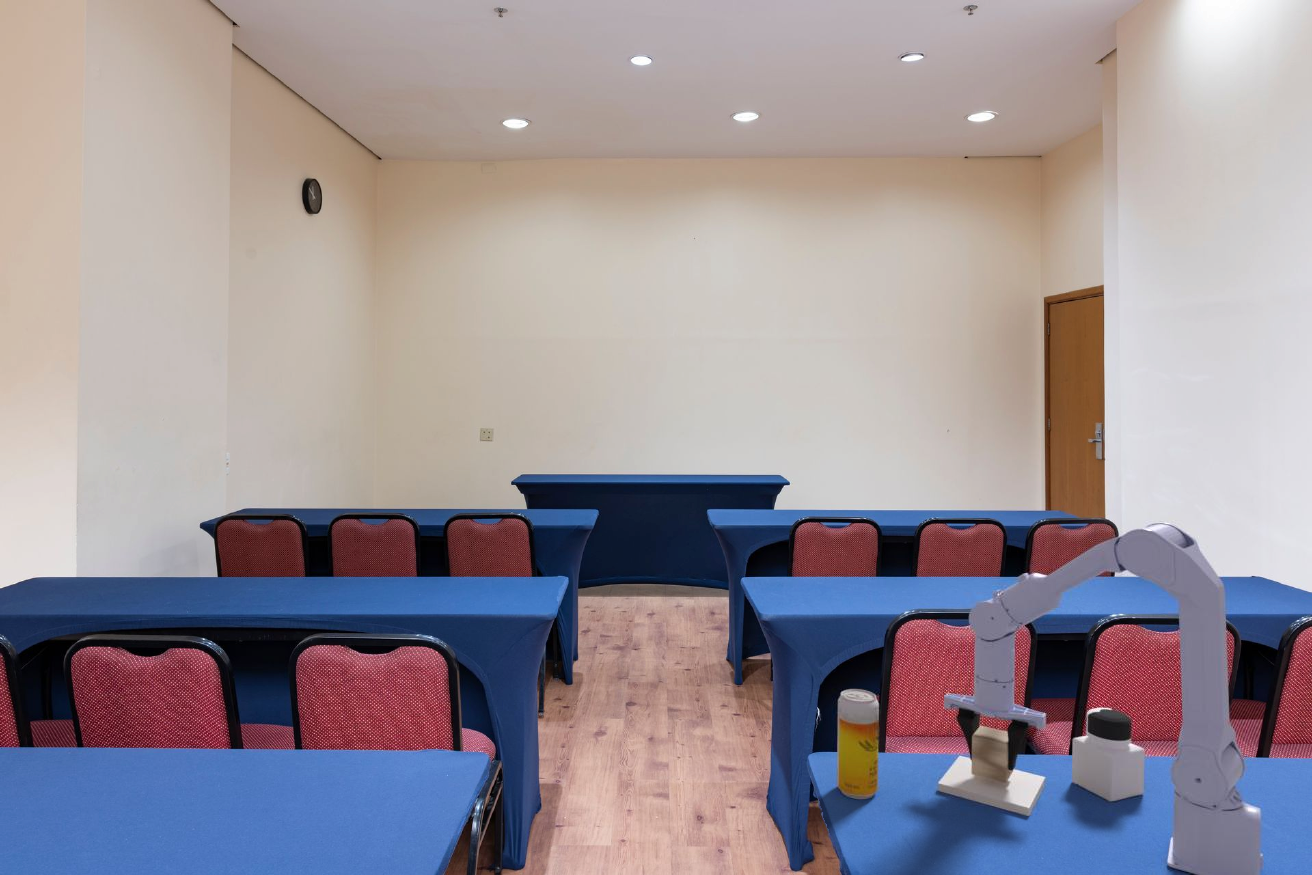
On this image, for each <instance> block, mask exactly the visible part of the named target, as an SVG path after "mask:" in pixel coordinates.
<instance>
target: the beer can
mask: <svg viewBox="0 0 1312 875" xmlns="http://www.w3.org/2000/svg"><path fill="white" fill-rule="evenodd" d="M879 708H880V703H879V701H878V699H877V695H876V694H875V693H873V692H871V691H869V690H865V689H861V688H860V689H859V688H849V689H845V690H843V691H841V692H840V695H839V697H838V699H837V742H836V743H837V744H836V745H837V746H836V747H837V750H836V751H837V754H836V759H837V760H836V761H837V762H836V765H837V767H836V770H837V771H836V786H837V787H838V789H839V790H840V792H841V793H842V795H844V796H846V797H848V798H852V799H856V800H867V799H870V798H872V797H873V796H874V795H875V793H876V792H878V788H879V732H880V731H879V729H880V728H879V727H880V726H879V725H880V724H879V723H880V718H879V717H880V715H879V714H880V709H879Z"/></svg>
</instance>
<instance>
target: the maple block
mask: <svg viewBox="0 0 1312 875" xmlns="http://www.w3.org/2000/svg"><path fill="white" fill-rule="evenodd" d="M1008 751H1009V747H1008V732H1007V730H1002V729H997V728H993V727H988V726H983V725H979V728H978V729H977V730H976V732H975V733H974V734H973V736H972V771H971V774H973V775H976V776H980V777H984V778H988V779H992V780H996V781H1000V782H1003V783H1006V782H1007V781H1008V779H1009V777H1010V776H1011V774H1012V772H1013V770H1009V769H1008Z"/></svg>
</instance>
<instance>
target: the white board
mask: <svg viewBox="0 0 1312 875" xmlns="http://www.w3.org/2000/svg"><path fill="white" fill-rule="evenodd" d="M971 771H972V760H971V759H970V757H966V756H964V755H963V756H961V755H959V756H958V757H957V758H956V760H955V761H954V762H953V763H952V764H951V765H950V767H949V768H948V770H947V771H946V773H944V775H943V776H942V778H941V779H940V780H939V781H938V782H937V791H938V792H940V793H941V792H942V793H945V794H947V795H948V794H949V795H952V796H956V797H959V798H962V799H965V800H970V801H973V802H977V803H981V804H984V805H989V806H991V807H995V808H998V809H1002V810H1005V811H1008V812H1014V813H1016V814H1020V815H1023V816H1026V817H1030V816H1031V814H1032V812H1033V810H1034V808H1035V806H1036V804H1037V802H1038V799H1039V797H1040V796H1041V793H1042V792H1043V790H1044V788H1045V786H1046V777H1045V776H1043V775H1037V774H1034V773H1030V772H1027V771H1023V770H1020V769H1019V770H1018V769H1015V768H1014V769H1013V772H1012V774H1011V776H1010V777H1009V779H1008V781H1007V782H1006V783H1003V782H1000V781H996V780H992V779H988V778H984V777H980V776H976V775H973V774H971Z"/></svg>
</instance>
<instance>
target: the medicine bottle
mask: <svg viewBox="0 0 1312 875" xmlns="http://www.w3.org/2000/svg"><path fill="white" fill-rule="evenodd" d="M1132 721H1133V720H1132V719H1131V718H1130V716H1129V715H1128V714H1126V713H1124V712H1122V711H1120V710H1117V709H1113V708H1111V707H1096V708H1091V709H1089V710H1088V711H1087V712H1086V730H1085V731H1086V732H1085V733H1086V735H1084V736H1083V735H1082V736H1078V737H1077V736H1076V737H1073V738H1072V755H1071V756H1072V758H1071V782H1072V783H1073V782H1074V783H1073V784H1076V785H1077V784H1078V786H1079V787H1081V788H1082V789H1085V790H1086V791H1089V792H1091V793H1092V794H1095V795H1097V796H1098V797H1101V798H1103V799H1105V800H1106V801H1108V802H1116V801H1120V800H1123V799H1124V800H1125V799H1128V798H1132V797H1136V796H1140V795H1143V794H1144V793H1145V791H1144V790H1145V789H1144V788H1145V785H1144V784H1145V757H1146V755H1145V753H1146V751H1145V749H1144V748H1143V747H1141V746H1139V745H1137V744H1133V743H1132Z"/></svg>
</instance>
